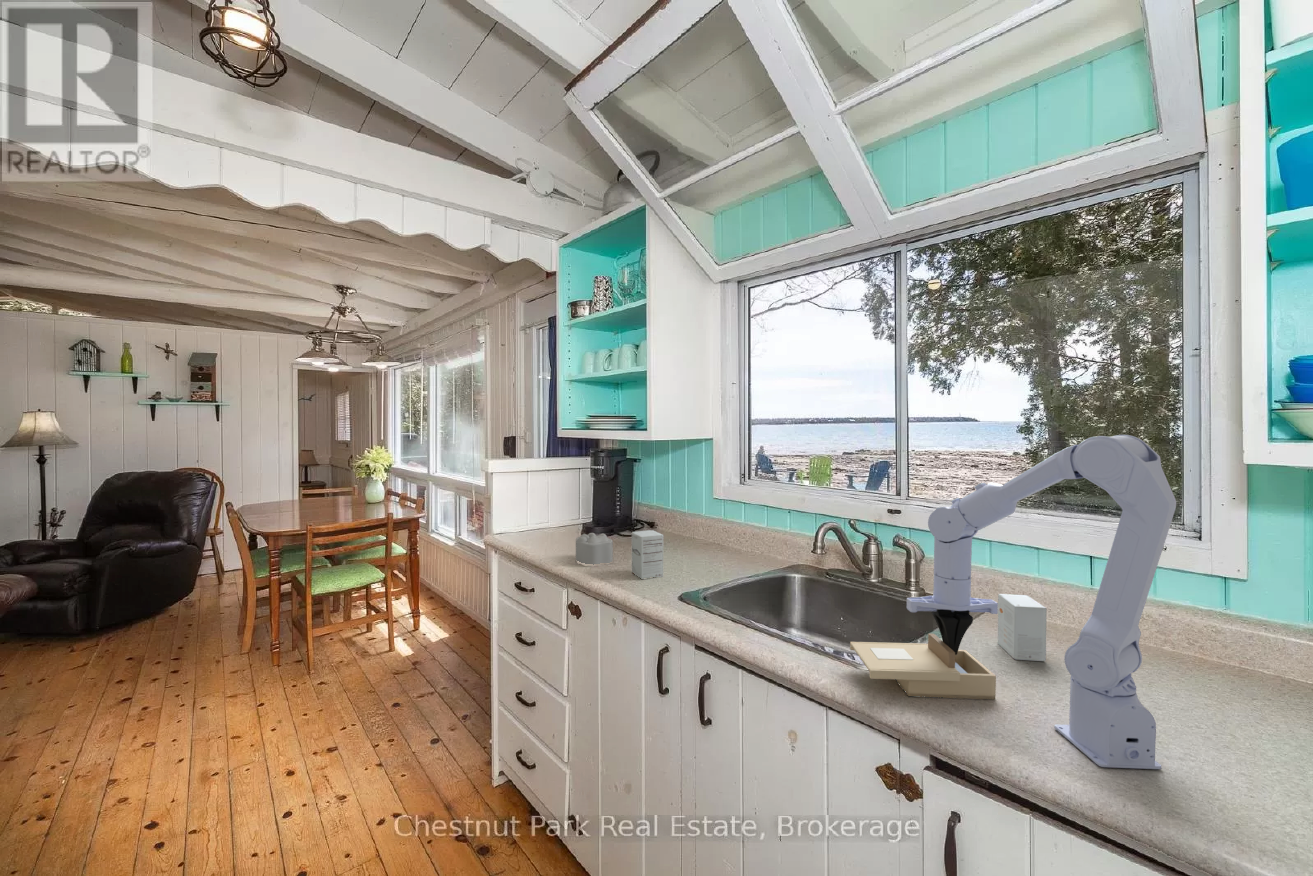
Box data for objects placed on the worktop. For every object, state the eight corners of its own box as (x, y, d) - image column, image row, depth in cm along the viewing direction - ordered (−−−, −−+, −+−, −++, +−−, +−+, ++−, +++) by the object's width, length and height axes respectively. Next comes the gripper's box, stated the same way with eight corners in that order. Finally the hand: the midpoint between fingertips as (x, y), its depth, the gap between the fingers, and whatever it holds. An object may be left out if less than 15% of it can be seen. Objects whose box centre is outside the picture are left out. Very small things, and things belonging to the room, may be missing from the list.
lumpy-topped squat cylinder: (588, 568, 169) (588, 540, 168) (568, 559, 179) (568, 533, 179) (616, 562, 175) (616, 536, 175) (595, 554, 185) (595, 529, 185)
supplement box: (631, 573, 163) (630, 531, 162) (653, 570, 166) (653, 529, 165) (640, 580, 156) (640, 536, 156) (664, 577, 159) (664, 534, 159)
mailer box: (995, 699, 90) (995, 675, 90) (908, 697, 91) (908, 673, 91) (965, 671, 100) (965, 649, 100) (886, 669, 101) (887, 648, 101)
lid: (959, 681, 90) (960, 657, 90) (870, 678, 91) (870, 655, 91) (929, 651, 101) (929, 629, 101) (850, 649, 102) (850, 628, 102)
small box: (1046, 662, 104) (1047, 608, 103) (1013, 660, 105) (1015, 606, 104) (1026, 645, 112) (1028, 594, 111) (996, 643, 113) (997, 592, 112)
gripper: (983, 569, 98) (981, 643, 99) (900, 568, 99) (899, 641, 100) (1005, 581, 91) (1003, 661, 92) (916, 579, 92) (915, 659, 93)
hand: (950, 652), depth 95 cm, fingers closed
